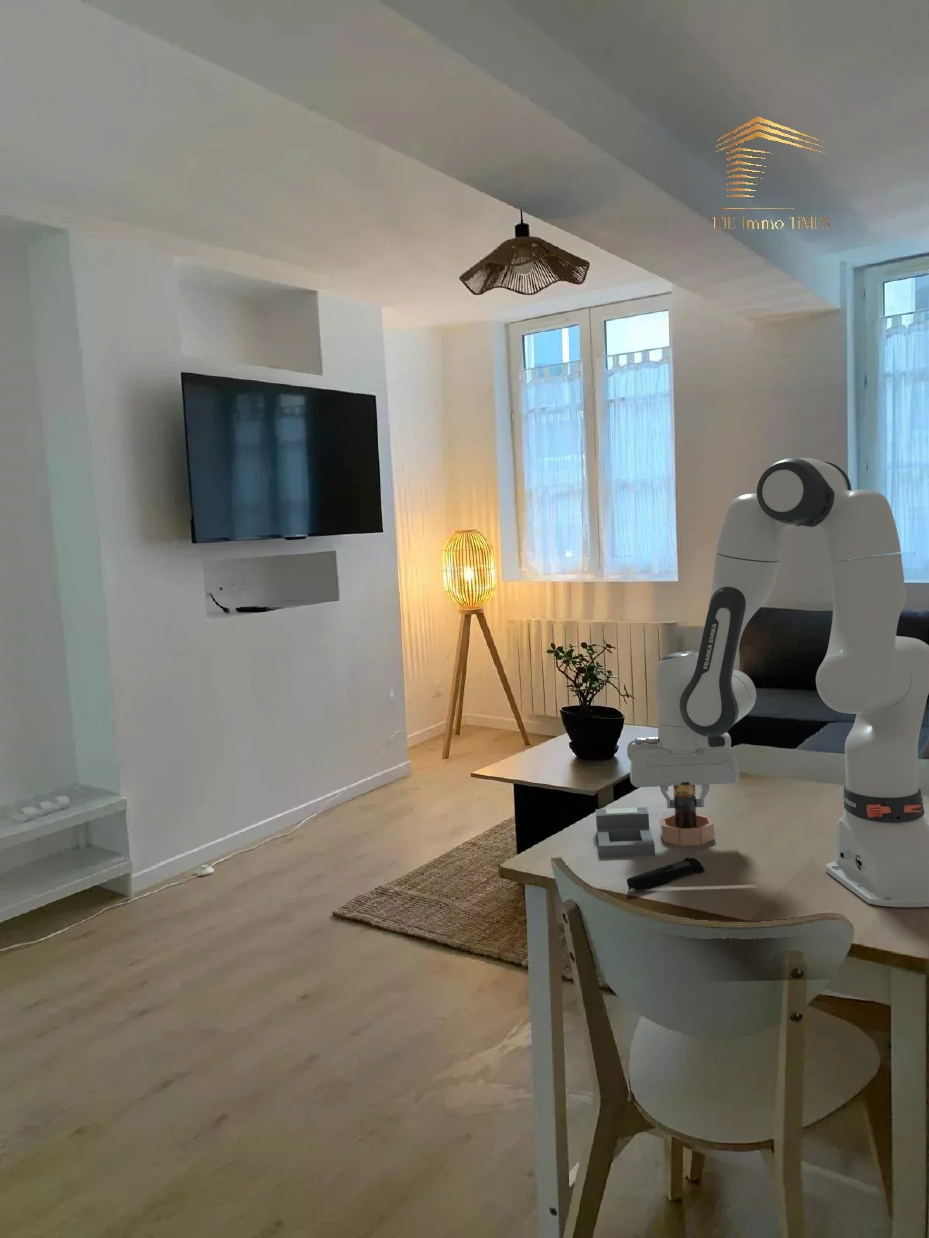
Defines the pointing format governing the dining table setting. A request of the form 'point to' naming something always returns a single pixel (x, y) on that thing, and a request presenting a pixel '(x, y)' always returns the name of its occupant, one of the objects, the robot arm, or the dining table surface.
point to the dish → (687, 831)
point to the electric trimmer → (665, 874)
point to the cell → (685, 805)
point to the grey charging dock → (624, 832)
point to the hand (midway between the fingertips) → (685, 806)
